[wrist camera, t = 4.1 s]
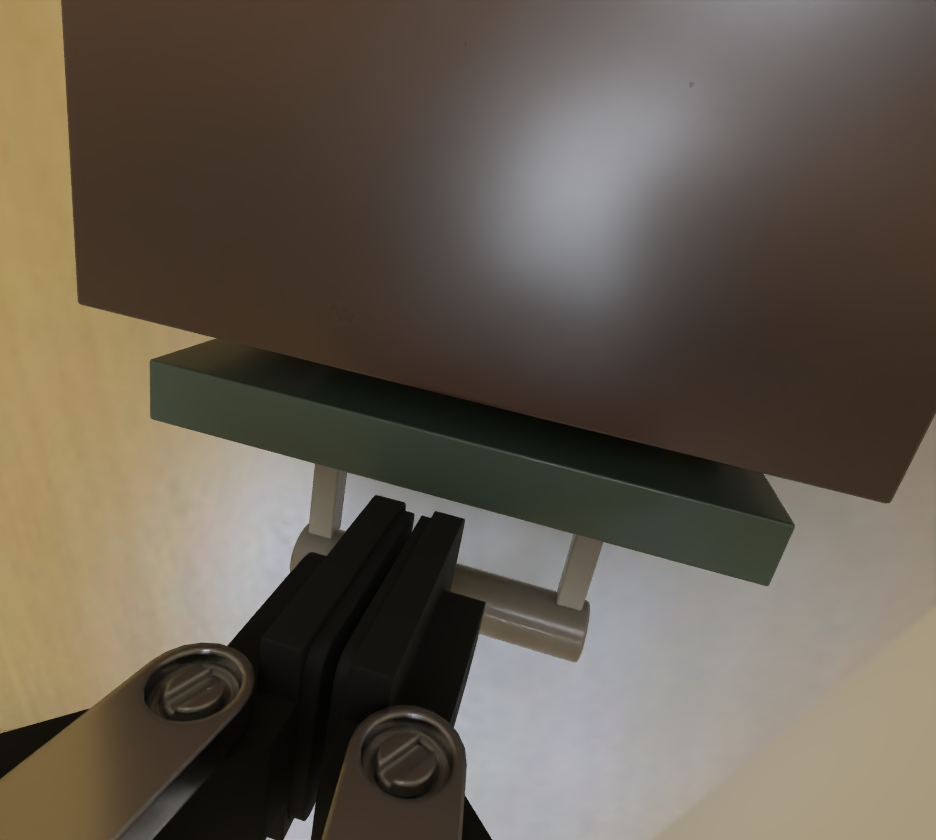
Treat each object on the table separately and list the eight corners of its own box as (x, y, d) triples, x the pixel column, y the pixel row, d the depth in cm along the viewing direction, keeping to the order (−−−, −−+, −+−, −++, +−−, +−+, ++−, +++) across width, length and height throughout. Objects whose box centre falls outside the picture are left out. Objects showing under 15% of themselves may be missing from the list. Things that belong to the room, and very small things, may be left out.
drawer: (655, 578, 18) (683, 781, 11) (300, 480, 19) (151, 610, 13) (961, -280, 11) (1459, -966, 5) (372, -326, 12) (133, -887, 6)
